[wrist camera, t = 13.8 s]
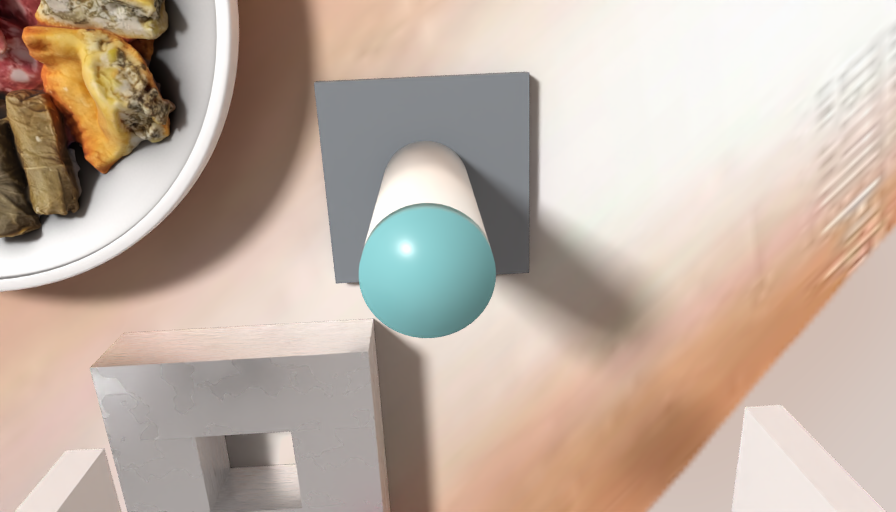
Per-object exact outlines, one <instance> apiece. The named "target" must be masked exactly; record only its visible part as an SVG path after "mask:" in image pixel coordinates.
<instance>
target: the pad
mask: <svg viewBox="0 0 896 512" xmlns="http://www.w3.org/2000/svg"><path fill="white" fill-rule="evenodd" d="M314 88H315V97H316V106H317V115H318V124H319V133H320V143H321V152H322V161H323V170H324V179H325V188H326V198H327V207H328V216H329V225H330V234H331V243H332V252H333V262H334V271H335V280H336V283H351V282H359V264H360V260H361V256H362V252H363V249H364V245H365V242H366V238H367V234H368V231H369V227H370V223H371V220H372V216H373V212H374V209H375V205H376V202H377V198H378V194H379V191H380V187H381V183H382V180H383V176H384V172H385V169H386V167H387V164H388V162H389V161H390V159H391V158H392V157H393V155H394V154H395V153H396V152H397V151H398V150H400V149H401V148H403V147H404V146H406V145H408V144H411V143H414V142H418V141H433V142H437V143H441V144H443V145H445V146H447V147H449V148H450V149H452V150H453V151H454V152H455V153H456V154H457V155H458V156H459V157H460V159H461V160H462V162H463V164H464V165H465V168H466V171H467V174H468V177H469V180H470V183H471V187H472V190H473V193H474V196H475V199H476V203H477V206H478V209H479V212H480V215H481V219H482V222H483V225H484V228H485V231H486V235H487V238H488V241H489V244H490V247H491V251H492V254H493V257H494V261H495V268H496V275H497V274H515V273H529V72H510V73H488V74H467V75H445V76H423V77H401V78H380V79H358V80H336V81H316V82H314Z"/></svg>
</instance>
